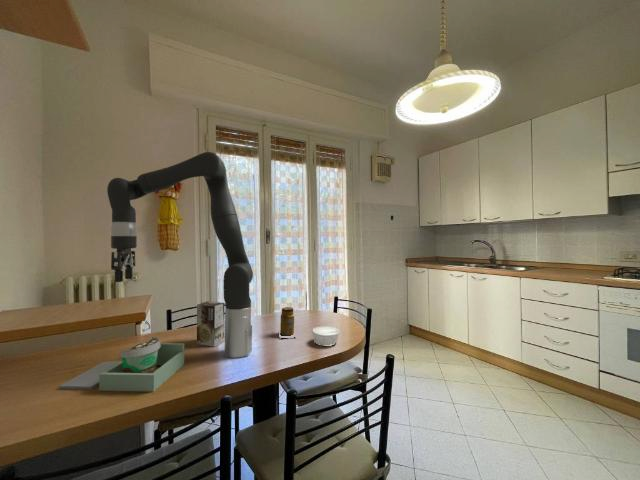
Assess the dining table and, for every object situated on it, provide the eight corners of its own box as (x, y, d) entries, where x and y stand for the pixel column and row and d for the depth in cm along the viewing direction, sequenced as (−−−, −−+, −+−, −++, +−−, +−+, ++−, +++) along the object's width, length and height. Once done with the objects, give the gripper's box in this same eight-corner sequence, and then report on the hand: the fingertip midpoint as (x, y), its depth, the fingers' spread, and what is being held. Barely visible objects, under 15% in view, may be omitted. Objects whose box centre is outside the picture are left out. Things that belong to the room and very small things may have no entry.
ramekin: (331, 350, 108) (331, 336, 108) (306, 344, 113) (307, 331, 113) (343, 341, 118) (343, 329, 118) (320, 336, 123) (320, 324, 123)
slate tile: (131, 364, 93) (131, 361, 93) (91, 389, 77) (91, 386, 77) (104, 363, 93) (104, 361, 93) (59, 389, 77) (59, 386, 77)
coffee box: (224, 341, 115) (225, 302, 115) (214, 347, 109) (215, 305, 109) (207, 338, 118) (207, 300, 118) (195, 344, 112) (196, 303, 112)
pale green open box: (184, 364, 94) (184, 343, 94) (153, 391, 77) (154, 365, 77) (139, 363, 94) (139, 342, 94) (99, 390, 77) (99, 365, 77)
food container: (137, 387, 78) (138, 352, 78) (119, 385, 80) (119, 350, 80) (169, 368, 90) (169, 337, 91) (153, 366, 92) (153, 336, 92)
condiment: (293, 332, 128) (294, 306, 128) (296, 338, 120) (296, 310, 120) (278, 333, 127) (278, 306, 127) (279, 339, 119) (279, 311, 119)
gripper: (128, 234, 94) (128, 282, 94) (142, 235, 108) (142, 277, 108) (102, 234, 92) (102, 283, 92) (120, 235, 106) (120, 278, 106)
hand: (124, 280), depth 100 cm, fingers open, 8 cm apart
